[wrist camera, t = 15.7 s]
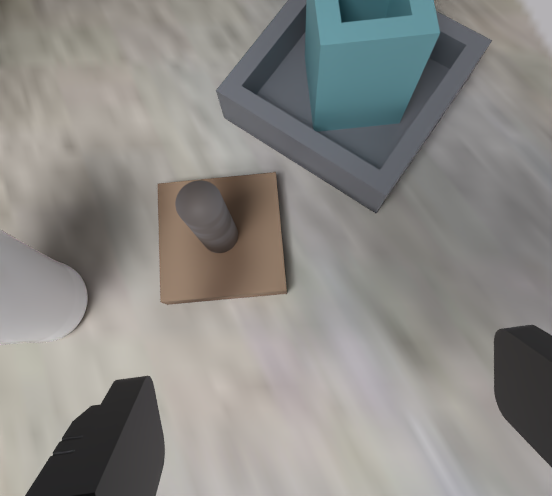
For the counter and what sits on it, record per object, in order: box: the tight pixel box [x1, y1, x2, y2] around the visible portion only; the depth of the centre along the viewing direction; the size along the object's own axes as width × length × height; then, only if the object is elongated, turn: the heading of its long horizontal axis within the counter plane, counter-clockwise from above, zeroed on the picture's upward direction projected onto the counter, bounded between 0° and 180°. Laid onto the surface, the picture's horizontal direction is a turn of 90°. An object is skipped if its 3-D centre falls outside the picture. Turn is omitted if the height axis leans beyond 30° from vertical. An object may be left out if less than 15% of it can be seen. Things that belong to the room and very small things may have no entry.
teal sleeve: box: [305, 0, 440, 132], centre depth 28 cm, size 6×8×9 cm
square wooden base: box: [158, 172, 287, 305], centre depth 27 cm, size 8×8×8 cm
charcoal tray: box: [216, 0, 492, 213], centre depth 31 cm, size 13×13×4 cm
